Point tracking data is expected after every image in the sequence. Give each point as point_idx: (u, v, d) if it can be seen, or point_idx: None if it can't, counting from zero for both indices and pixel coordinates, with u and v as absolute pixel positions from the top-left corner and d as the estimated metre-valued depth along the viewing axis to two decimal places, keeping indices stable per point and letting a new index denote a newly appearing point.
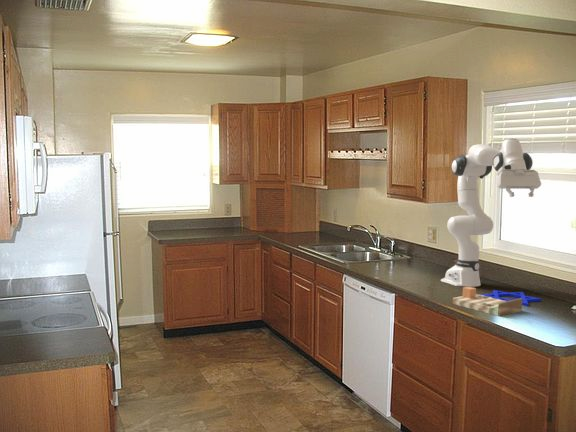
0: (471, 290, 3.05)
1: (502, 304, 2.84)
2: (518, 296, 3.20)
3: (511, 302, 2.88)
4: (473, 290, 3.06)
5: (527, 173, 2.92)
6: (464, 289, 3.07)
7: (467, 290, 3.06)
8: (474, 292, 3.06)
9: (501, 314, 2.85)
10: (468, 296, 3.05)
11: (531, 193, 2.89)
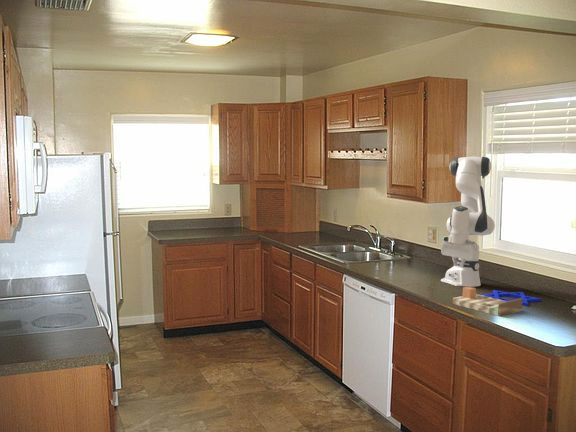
0: (471, 290, 3.05)
1: (502, 304, 2.84)
2: (518, 296, 3.20)
3: (511, 302, 2.88)
4: (473, 290, 3.06)
5: (463, 246, 3.07)
6: (464, 289, 3.07)
7: (467, 290, 3.06)
8: (474, 292, 3.06)
9: (501, 314, 2.85)
10: (468, 296, 3.05)
11: (459, 264, 3.10)
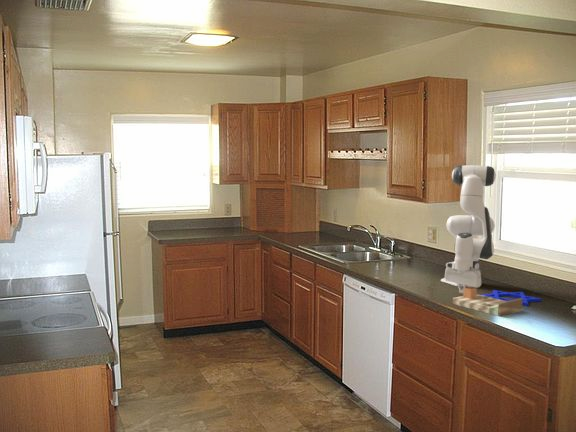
0: (472, 290, 3.04)
1: (502, 304, 2.84)
2: (518, 296, 3.20)
3: (511, 302, 2.88)
4: (474, 290, 3.05)
5: (467, 273, 3.05)
6: (465, 289, 3.07)
7: (468, 290, 3.05)
8: (475, 292, 3.06)
9: (501, 314, 2.85)
10: (469, 296, 3.05)
11: (461, 291, 3.10)
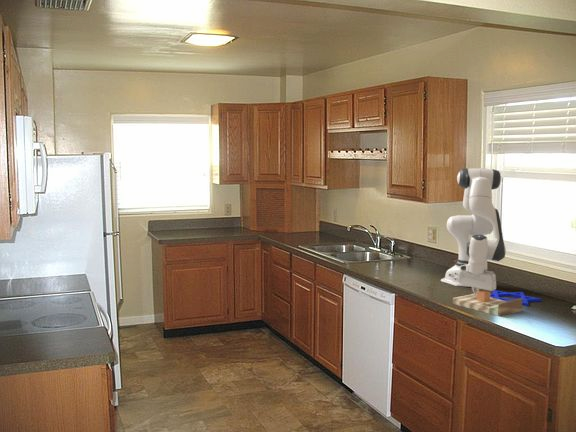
0: (485, 294, 2.98)
1: (502, 304, 2.84)
2: (518, 296, 3.20)
3: (511, 302, 2.88)
4: (487, 293, 2.99)
5: (482, 276, 2.98)
6: (478, 292, 3.00)
7: (481, 294, 2.99)
8: (488, 296, 2.99)
9: (501, 314, 2.85)
10: (482, 300, 2.98)
11: (475, 294, 3.03)
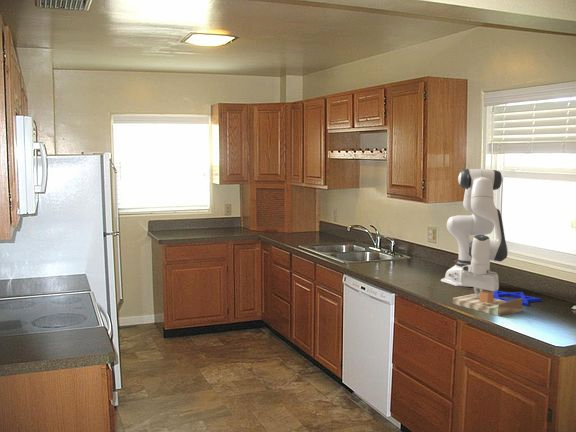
0: (489, 294, 2.96)
1: (502, 304, 2.84)
2: (518, 296, 3.20)
3: (511, 302, 2.88)
4: (491, 294, 2.97)
5: (484, 276, 2.97)
6: (481, 293, 2.99)
7: (484, 294, 2.97)
8: (492, 296, 2.98)
9: (501, 314, 2.85)
10: (485, 300, 2.97)
11: (478, 295, 3.02)
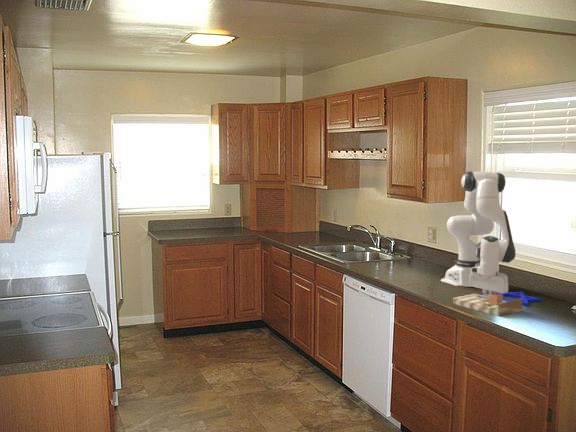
0: (498, 297, 2.92)
1: (502, 304, 2.84)
2: (518, 296, 3.20)
3: (511, 302, 2.88)
4: (500, 296, 2.93)
5: (493, 278, 2.93)
6: (490, 295, 2.94)
7: (494, 297, 2.93)
8: (501, 299, 2.94)
9: (501, 314, 2.85)
10: (495, 303, 2.93)
11: (487, 297, 2.98)
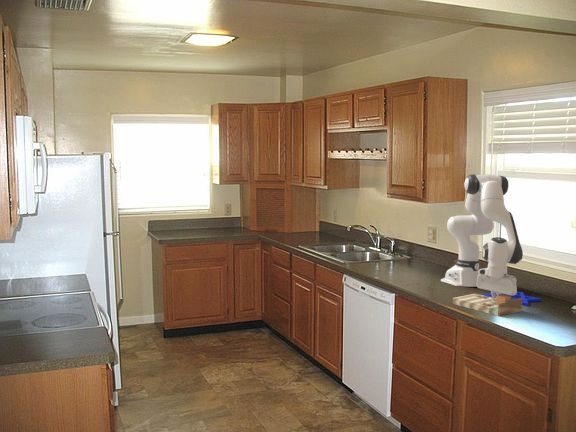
0: (506, 298, 2.89)
1: (502, 304, 2.84)
2: (518, 296, 3.20)
3: (511, 302, 2.88)
4: (508, 298, 2.90)
5: (502, 280, 2.89)
6: (498, 297, 2.91)
7: (501, 298, 2.89)
8: None
9: (501, 314, 2.85)
10: None
11: (495, 299, 2.94)
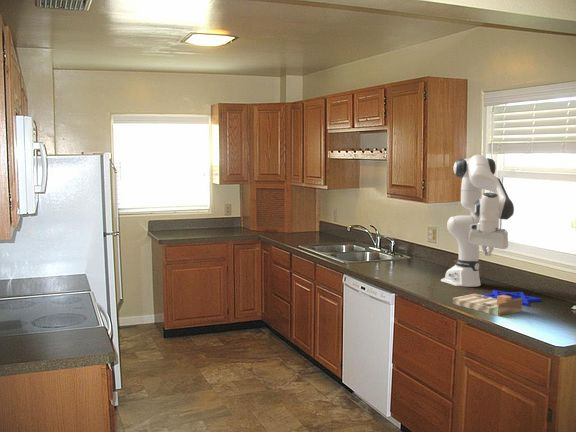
0: (506, 299, 2.88)
1: (502, 304, 2.84)
2: (518, 296, 3.20)
3: (511, 302, 2.88)
4: (508, 298, 2.89)
5: (493, 234, 2.92)
6: (499, 297, 2.91)
7: (502, 299, 2.89)
8: None
9: (501, 314, 2.85)
10: None
11: (487, 253, 2.97)
